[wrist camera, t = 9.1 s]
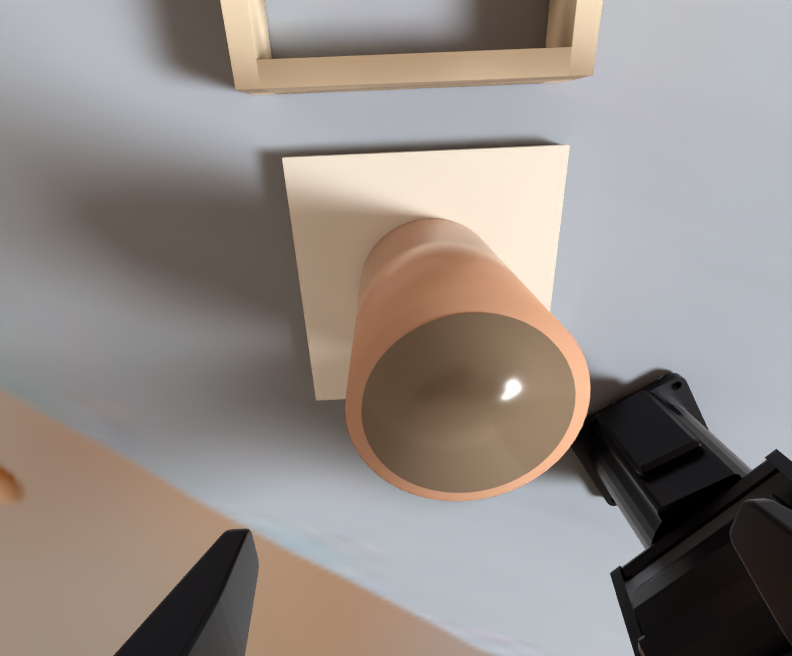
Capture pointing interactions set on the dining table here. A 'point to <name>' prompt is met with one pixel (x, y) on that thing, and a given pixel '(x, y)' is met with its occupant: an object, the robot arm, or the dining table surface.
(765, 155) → the dining table surface
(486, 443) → the pot
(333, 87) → the wooden square frame
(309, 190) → the tile
